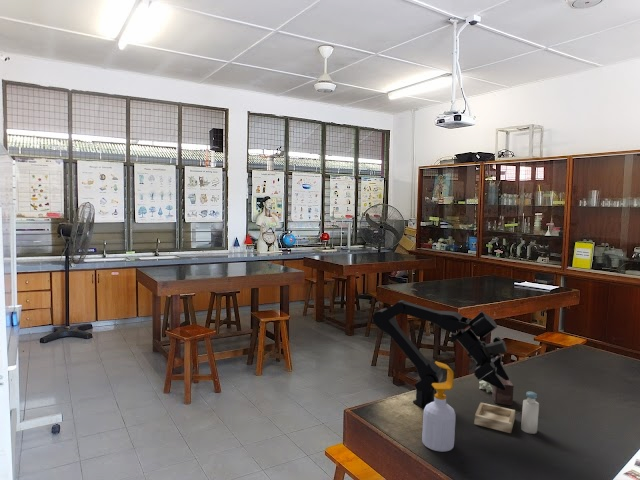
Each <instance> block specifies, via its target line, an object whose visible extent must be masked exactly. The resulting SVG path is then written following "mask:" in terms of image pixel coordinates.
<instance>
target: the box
mask: <svg viewBox="0 0 640 480" xmlns="http://www.w3.org/2000/svg"><path fill="white" fill-rule="evenodd" d="M500 380H501V381H502V383H503V384H504V386H505V388H506V389H505V390H501V389H499V388H497V387H495V386H494V385H492V388H493V393H492V395H491V397H492V399H493V401H494V403H495V404H498V405H508V406H513V402H514V383H513V382H512V380H511V379H510V378H509V380H507V381H506V380H505V379H503V378H500Z"/></svg>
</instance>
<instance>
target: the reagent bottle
mask: <svg viewBox="0 0 640 480" xmlns="http://www.w3.org/2000/svg"><path fill="white" fill-rule="evenodd" d="M525 396H526V399H523V400H522V409H521V410H522V411H521V424H520V429H521V430H522V431H523V432H524V433H527V434H530V435H531V434H537V433H538V426H539V425H538V423H539V411H540V410H539V409H540V403H539V402H538V401H536V399H537V398H538V393H536V392H534V391H526V394H525Z"/></svg>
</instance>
